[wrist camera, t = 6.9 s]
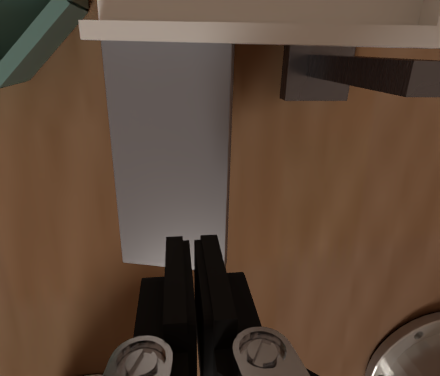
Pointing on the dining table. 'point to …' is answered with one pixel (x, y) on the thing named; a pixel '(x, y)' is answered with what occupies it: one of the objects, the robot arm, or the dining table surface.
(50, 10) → the green octagonal bowl
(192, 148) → the tipping tray
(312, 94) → the stand
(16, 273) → the dining table surface
